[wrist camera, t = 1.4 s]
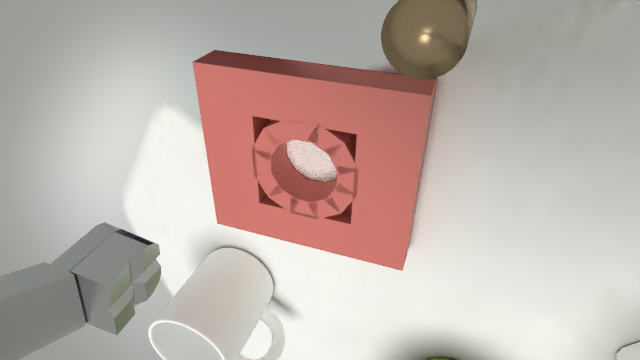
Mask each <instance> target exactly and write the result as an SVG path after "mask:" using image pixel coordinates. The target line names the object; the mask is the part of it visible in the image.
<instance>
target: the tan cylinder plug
mask: <svg viewBox="0 0 640 360" xmlns="http://www.w3.org/2000/svg"><path fill="white" fill-rule="evenodd" d="M476 8H477V0H399V1H398V2H397V3H396V4H395V5H394V6H393V7H392V8H391V10H390V11H389V13H388V14H387V16H386V18H385V20H384V24H383V27H382V32H381V41H382V46H383V51H384V53H385V56H386V58H387V59H388V61H389V62H390V64H391V65H392V66H393V67H394V68H395V69H396V70H398V71H399V72H400V73H402V74H404V75H406V76H408V77H411V78H416V79H431V78H435V77H439V76H441V75H443V74H445V73H447V72H448V71H450V70H451V69H452V68H454V67H455V66H456V65H457V64H458V62H459V61H460V60H461V58H462V56H463V55H464V53H465V50H466V48H467V44H468V40H469V37H470V33H471V29H472V25H473V21H474V17H475V13H476Z"/></svg>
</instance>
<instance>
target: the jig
mask: <svg viewBox="0 0 640 360" xmlns="http://www.w3.org/2000/svg"><path fill="white" fill-rule="evenodd" d="M193 68H194V74H195V81H196V87H197V94H198V100H199V107H200V113H201V120H202V126H203V133H204V139H205V146H206V152H207V159H208V165H209V172H210V178H211V185H212V192H213V198H214V205H215V211H216V218H217V223H218V224H222V225H226V226H230V227H233V228H237V229H241V230H245V231H249V232H253V233H257V234H261V235H265V236H269V237H273V238H277V239H280V240H284V241H288V242H292V243H296V244H300V245H304V246H308V247H312V248H316V249H320V250H324V251H327V252H331V253H335V254H339V255H343V256H347V257H351V258H355V259H359V260H363V261H367V262H370V263H374V264H378V265H382V266H386V267H390V268H394V269H398V270H403V266H404V263H405V259H406V256H407V252H408V248H409V243H410V237H411V231H412V226H413V220H414V214H415V208H416V202H417V196H418V190H419V184H420V178H421V172H422V166H423V160H424V154H425V148H426V142H427V136H428V130H429V124H430V118H431V112H432V106H433V100H434V95H435V89H436V83H437V79H416V78H411V77H408V76H406V75H400V74H393V73H385V72H378V71H370V70H362V69H355V68H347V67H339V66H332V65H324V64H317V63H309V62H301V61H293V60H286V59H278V58H271V57H263V56H255V55H248V54H240V53H232V52H224V51H217V50H214V51H212V52H211V53H209V54H207V55H205V56H203V57H201V58H199V59H198V60H195V61H194V62H193ZM271 119H272V120H271ZM293 139H295V140H301V141H306V142H312V143H313V144H315V145H316V146H318V147H319V148H320V149H322V150H323V151H324V152H326V153H327V154H328V155H329V156H330V158H331V160H332V162H333V164H334V166H335V168H336V169H337V179H335V180H332V181H328V182H325V183H324V182H319V181H314V180H310V179H307V178H306V177H305V176H303V175H302V174H301V173H299V172H298V171H296V170H295V169H294V167H293V165H292V164H291V162H290V160H289V158H288V157H287V151H286V142H288V141H290V140H293Z"/></svg>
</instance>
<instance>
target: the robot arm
mask: <svg viewBox="0 0 640 360" xmlns="http://www.w3.org/2000/svg"><path fill="white" fill-rule="evenodd" d="M159 254H160V251H159V245H158V244H156V243H154V242H151V241H149V240H146V239H144V238H142V237H139V236H137V235H134V234H132V233H130V232H127V231H125V230H122V229H120V228H118V227H115V226H113V225H110V224H107V223H105V222H104V223H101V224H99V225H97V226H95V227H94V228H93V229H92V230H91V231H89V232H88V233H87V234H86V235H85V236H84V237H82V238H81V239H80V240H79V241H77V242H76V243H75V244H74V245H73V246H71V247H70V248H69V249H68V250H67V251H66V252H64V253H63V254H62V255H61V256H60V257H58V258H57V259H56V260H55V261H53V262H52V263H51V264H49V263H46V262H44V263H41V264H38V265H34V266H31V267H28V268H25V269H22V270H19V271H15V272H12V273H9V274H6V275H2V276H0V360H19V359H21V358H23V357H25V356H27V355H29V354H31V353H33V352H35V351H37V350H39V349H41V348H43V347H44V346H46V345H48V344H50V343H52V342H54V341H56V340H58V339H60V338H62V337H64V336H66V335H68V334H70V333H72V332H74V331H76V330H78V329H80V328H82V327H84V326H86V323H88V324H90V325H93V326H95V327H98V328H100V329H103V330H105V331H108V332H110V333H113V334H115V335H117V334H118V333H119V332H120V331H121V330H122V329H123V327H124V326H125V325H126V324H127V323H128V322H129V321H130V319H131V318H132V317H133V316H134V315H135V305H136V304H139V303H142V302H144V301H147V299H148V298H149V297H150V296H151V294H152V293H153V292H154V290H155V288H156V286H157V284H158V282H159V280H160V275H161V266H160V264H159V263H158V261H157V260H156V258H157V257H158V255H159Z"/></svg>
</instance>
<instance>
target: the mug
mask: <svg viewBox="0 0 640 360" xmlns="http://www.w3.org/2000/svg"><path fill="white" fill-rule="evenodd" d="M273 289H274V286H273V281H272V278H271V276H270V273H269V272H268V270H267V269H266V267H265V266H264V265H263V264H262V263H261V262H260V261H259V260H258V259H256V258H255V257H254V256H252V255H251V254H249V253H247V252H245V251H242V250H239V249H235V248H221V249H218V250H215V251H213V252H212V253H211V254H209V255H208V256H207V258H206V259H205V260H204V261H203V262H202V263H201V264H200V266H199V267H198V268H197V269H196V271H195V272H194V273H193V274H192V275H191V277H190V278H189V279H188V280H187V281H186V283H185V284H184V285H183V286H182V288H181V289H180V290H179V291H178V292H177V294H176V295H175V296H174V297H173V298H172V300H171V301H170V302H169V303H168V305H167V306H166V307H165V308H164V310H163V311H162V312H161V313H160V314H159V315H158V317H157V318H156V319H155V320H154V322H153V323H152V324H151V326H150V327H149V331H148V332H149V333H148V335H149V339H150V342H151V344H152V346H153V347H154V349H155V350H156V352H157V353H158V354H159V355H160V356H161V358H162V359H163V360H252V359H248V358H246V357H244V356H243V355H241V354H240V352H241V350H242V348H243V347H244V345H245V343H246V342H247V340H248V338H249V337H250V335H251V333H252V331H253V330H254V328H255V326H256V324H257V323H258V321H259V319H260V320H261V321H263V322H264V323H265V324H266V325H267V326H268V327H269V329H270V330H271V333H272V343H271V347H270V349H269V350H268V352H267V353H266V354H265V355H264V356H263V357H262V358H260V359H256V360H278V359H279V357H280V356H281V353H282V351H283V347H284V341H285V336H284V330H283V326H282V324H281V322H280V320H279V318H278V317H277V316H276V315H275V314H274V313H273V312H272V311H271V310H270V309H269V308H268V307H267V305H268V303H269V302H270V299H271V297H272V295H273Z"/></svg>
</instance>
